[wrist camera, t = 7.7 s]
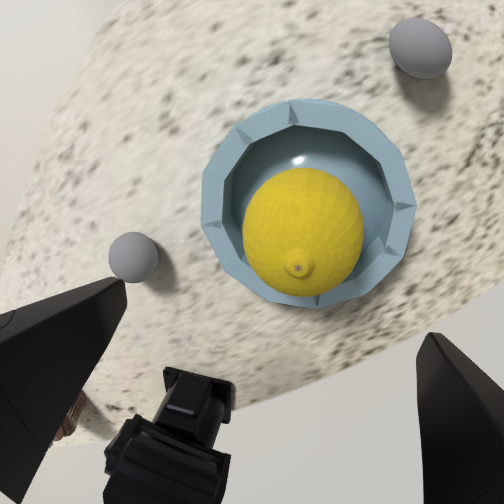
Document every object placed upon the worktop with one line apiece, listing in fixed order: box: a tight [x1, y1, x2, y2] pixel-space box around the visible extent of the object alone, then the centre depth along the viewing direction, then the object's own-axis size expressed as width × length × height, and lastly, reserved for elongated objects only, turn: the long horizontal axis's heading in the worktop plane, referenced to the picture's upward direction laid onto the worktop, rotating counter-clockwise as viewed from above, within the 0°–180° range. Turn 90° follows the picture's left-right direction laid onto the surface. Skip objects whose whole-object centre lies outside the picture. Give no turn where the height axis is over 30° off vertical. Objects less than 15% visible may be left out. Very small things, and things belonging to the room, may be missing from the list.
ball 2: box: [389, 18, 452, 79], centre depth 12 cm, size 4×4×4 cm
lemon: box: [243, 168, 364, 297], centre depth 15 cm, size 6×6×8 cm
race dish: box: [201, 99, 417, 309], centre depth 18 cm, size 12×12×3 cm
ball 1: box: [109, 232, 158, 283], centre depth 21 cm, size 4×4×4 cm
